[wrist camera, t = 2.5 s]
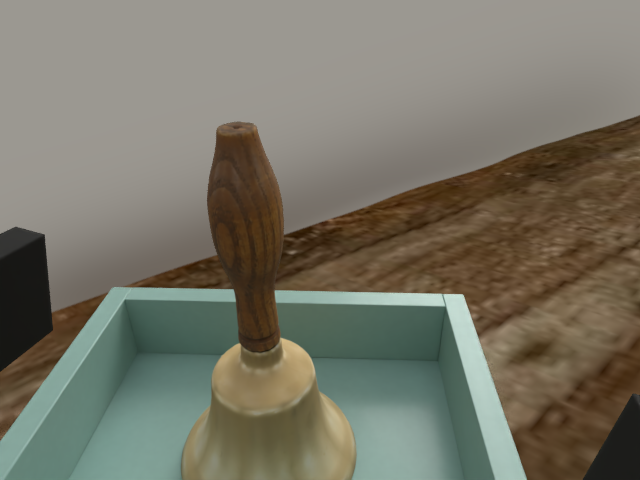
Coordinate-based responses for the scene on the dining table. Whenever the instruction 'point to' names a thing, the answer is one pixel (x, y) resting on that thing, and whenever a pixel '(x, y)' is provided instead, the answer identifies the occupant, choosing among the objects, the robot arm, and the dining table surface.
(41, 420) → the open box
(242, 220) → the hand bell
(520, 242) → the dining table surface
